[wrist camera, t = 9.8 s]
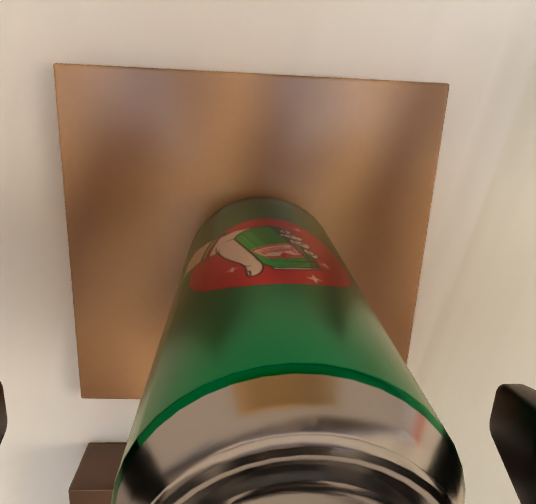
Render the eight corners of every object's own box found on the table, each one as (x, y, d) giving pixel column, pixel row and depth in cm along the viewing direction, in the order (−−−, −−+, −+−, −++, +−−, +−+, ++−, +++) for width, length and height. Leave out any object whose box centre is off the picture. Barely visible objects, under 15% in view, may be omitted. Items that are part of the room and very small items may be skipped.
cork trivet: (443, 83, 16) (450, 83, 16) (396, 392, 20) (401, 401, 19) (59, 63, 15) (52, 62, 15) (85, 390, 19) (80, 399, 19)
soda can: (276, 351, 18) (335, 770, 7) (161, 280, 17) (9, 645, 6) (360, 245, 17) (591, 544, 6) (242, 163, 16) (248, 334, 5)
